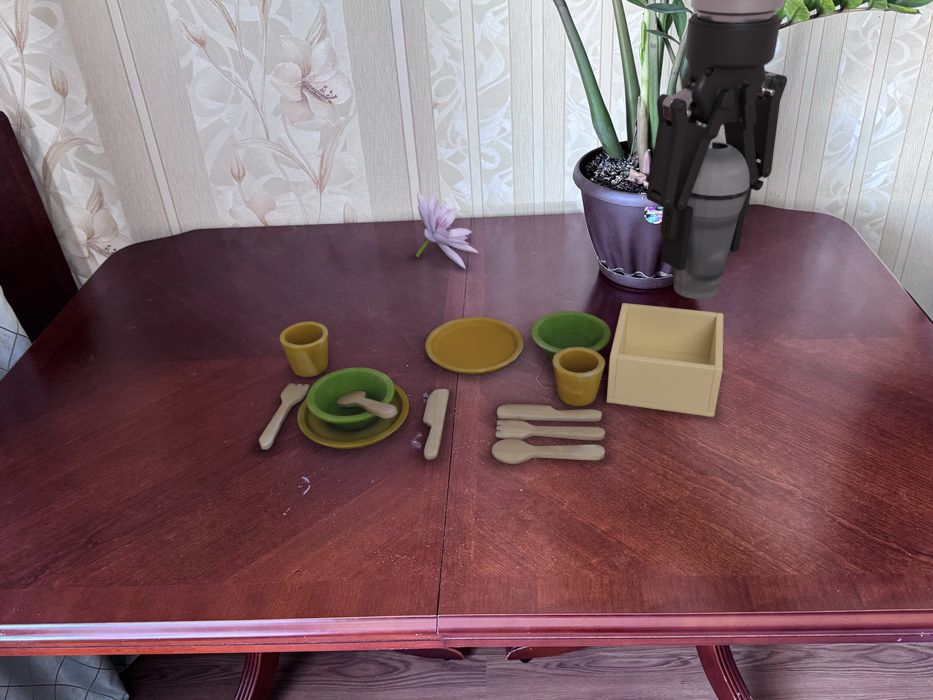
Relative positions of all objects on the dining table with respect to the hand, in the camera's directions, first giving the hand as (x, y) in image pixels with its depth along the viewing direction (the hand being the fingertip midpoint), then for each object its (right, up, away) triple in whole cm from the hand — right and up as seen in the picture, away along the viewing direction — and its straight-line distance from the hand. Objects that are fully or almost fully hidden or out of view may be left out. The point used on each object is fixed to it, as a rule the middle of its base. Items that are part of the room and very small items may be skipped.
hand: (700, 254), depth 75 cm
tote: (0, -13, +14) cm, 19 cm away
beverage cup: (0, -3, +2) cm, 4 cm away
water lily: (-27, +5, +44) cm, 52 cm away
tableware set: (-27, -14, +15) cm, 34 cm away
